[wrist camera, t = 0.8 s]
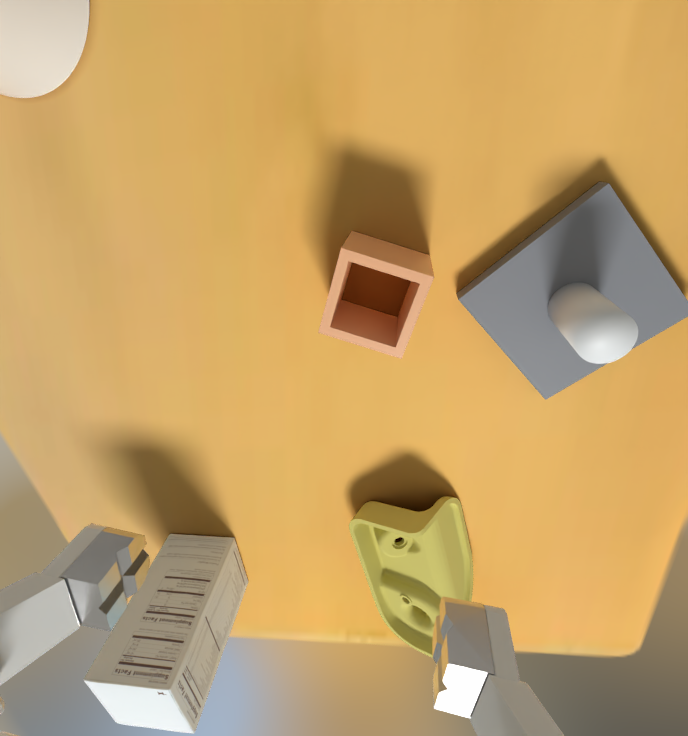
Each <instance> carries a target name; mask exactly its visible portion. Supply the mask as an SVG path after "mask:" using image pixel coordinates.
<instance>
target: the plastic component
mask: <svg viewBox="0 0 688 736" xmlns="http://www.w3.org/2000/svg"><path fill="white" fill-rule="evenodd" d="M349 530H350V533H351V536H352V539H353V541H354V544H355V547H356V550H357V553H358V556H359V559H360V561H361V564H362V567H363V570H364V573H365V576H366V579H367V581H368V584H369V587H370V590H371V593H372V596H373V598H374V601H375V604H376V606H377V608H378V611H379V613H380V615H381V617H382V618H383V620H384V622H385V623H386V624H387V626H388V627H389V628H390V629H391V630H392V631H393V633H394V634H396V635H397V636H398V637H399V638H400V639H401V640H402V641H404V642H405V643H406V644H408V645H409V646H411V647H412V648H414V649H416V650H418V651H419V652H421V653H424V654H425V655H427V656H430V657H432V642H433V630H434V624H435V620H436V616H438V615H440V607H439V605H440V602H441V599H442V597H443V596H444V597H449V598H455V599H460V600H465V601H470V602H471V599H472V589H473V561H472V553H471V548H470V543H469V539H468V534H467V529H466V525H465V520H464V516H463V511H462V506H461V503H460V501H459V500H458V499H457V498H454V497H449V496H445V497H442V498H440V499H439V500H437V501H436V503H435V504H434V505H433V506H432V507H431V508H430V509H428V510H425V511H421V512H416V511H412V510H408V509H404V508H400V507H396V506H392V505H388V504H384V503H380V502H376V501H369V502H367V503H365V504H364V505H363V506H362V507H361V509H360V510H359V511H358V513H357V514H356V515H355V516H354V518H353V519H352V520H351V522H350V524H349ZM399 537H402V538H403V539H402V540H401V541H399V542H395V539H397V538H399ZM432 658H433V657H432Z"/></svg>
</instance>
